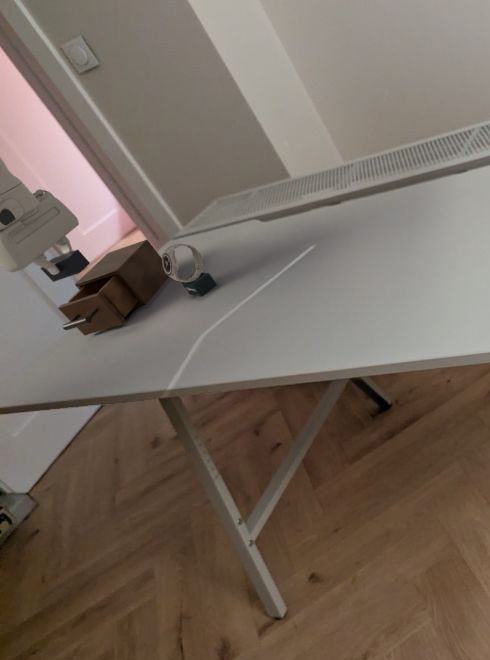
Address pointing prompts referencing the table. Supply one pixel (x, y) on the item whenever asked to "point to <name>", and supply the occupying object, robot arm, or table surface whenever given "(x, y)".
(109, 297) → the drawer
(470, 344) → the table surface
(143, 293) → the cabinet
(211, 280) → the watch
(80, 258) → the black block
